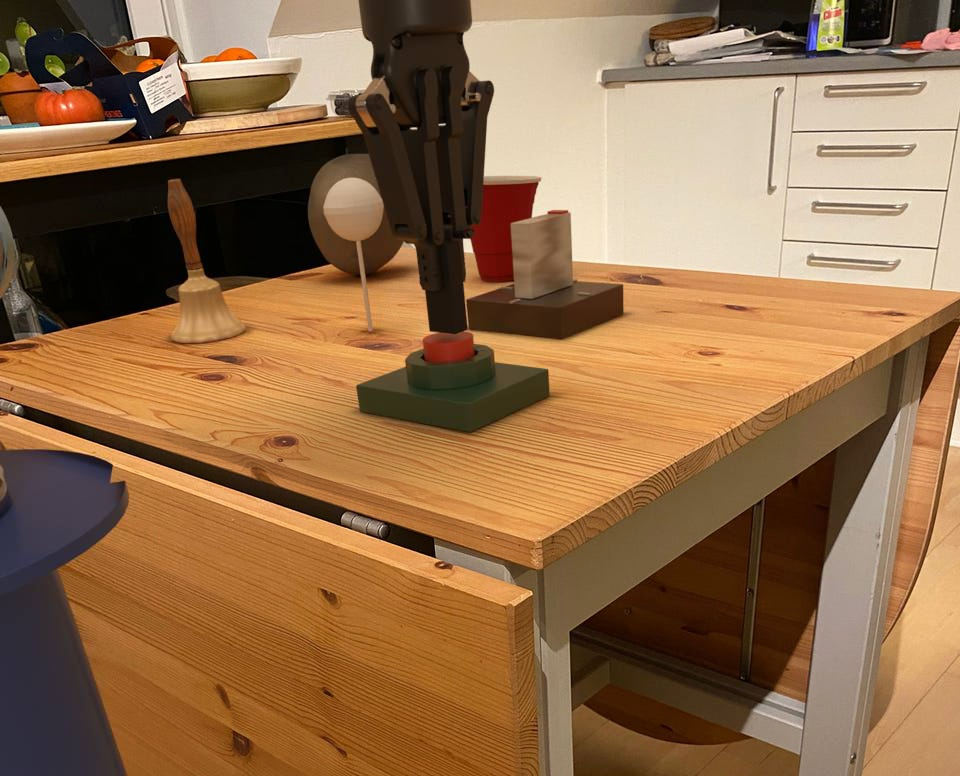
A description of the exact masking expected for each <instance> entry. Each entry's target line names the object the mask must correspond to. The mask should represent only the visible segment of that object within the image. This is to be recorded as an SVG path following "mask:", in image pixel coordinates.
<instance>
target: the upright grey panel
mask: <svg viewBox="0 0 960 776" xmlns="http://www.w3.org/2000/svg"><path fill="white" fill-rule="evenodd" d="M511 238H512V254H513V270H514V280H513V284H514V286H515V297H516V298H527V299H533V298H536V297H539V296H542V295H545V294H548V293H551V292H554V291H557V290H559V289H562V288H565V287H568V286H571V285H573V280H574V269H573V267H574V266H573V241H572V240H573V239H572V238H573V237H572V213H571V212H570V211H569V210H568V209H551V210H548V211H547V213H545V214H542V215H537V216H532V218H529V219H525V220H522V221H518V222H514V223H511Z"/></svg>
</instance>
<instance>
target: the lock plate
mask: <svg viewBox="0 0 960 776" xmlns="http://www.w3.org/2000/svg"><path fill="white" fill-rule="evenodd" d="M465 305H466V316H467V327H468V329H469V330H475V331H483V332H484V331H485V332H494V333H502V334H503V333H504V334H511V335H512V334H513V335H522V336H528V337H529V336H530V337H539V338H548V339H557V340H563V339H566V338H568V337H570V336H573V335H575V334H577V333H580V332H583V331H585V330H588V329H591V328H592V327H595V326H597V325H600V324H602V323H605V322H607V321H610V320H612V319H614V318H617V317H620V316H622V315H624V313H625V312H624V311H625V310H624V284H623V283H610V282H597V281H596V282H594V281H581V280H580V281H579V280H578V278H573V285H571V286H568V287H565V288H562V289H559V290H557V291H554V292H551V293H548V294H545V295H542V296H539V297H536V298H533V299H527V298H516V297H515V286H514V283H511V284H509V285H505V286H501V287H499V288H496V289H494V290H491V291H487V292H483V293H481V294H479V295H475V296H472V297H468V298H465Z"/></svg>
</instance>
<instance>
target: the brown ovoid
mask: <svg viewBox="0 0 960 776" xmlns="http://www.w3.org/2000/svg"><path fill="white" fill-rule="evenodd" d="M345 178H359V179H362V180H364V181H367V182H368V183H369V184H371V185H372V186H373V187H374V188H375V189H376V191H377V192H378V194H379V195H380V197H381V194H380V190H379V187H378V184H377V180H376V177H375V173H374V170H373V167H372V163H371V160H370V156H369V153H350V154H342V155H339V156H337V157H336V158H333V159H331V160H329V161H327V162H326V163H325V164H324V165H322V167H320V169H319V170H318V172H316V174H315V177H314V178H313V180H312V183H311V186H310V192H309V197H308V203H307V218H308V224H309V229H310V232H311V235H312V237H313V240H314V241H315V244H316V246H317V247H318V249H319V251H320V252H321V254H322V256H323V257H324V259H325V260H326V261H327V262H328V263H330V264H331V265H332V266H333V267H334V268H336V269H337V270H338V271H340V272H342V273H344V274H348V275H351V276H361V273H360V266H359V259H358V252H357V244H356V241H350V240H346V239H344V238H342V237H340V236H339V235H337V234H336V233H335V232H334V231H333V230H332V228H331V227H330V225H329V224H328V221H327V219H326V217H325V215H324V208H323V207H324V203H325V200H326V197H327V194H328V192H329V190H330V189H331V188H332V187H333V185H334V184H336V183H337V182H338V181H340V180H343V179H345ZM381 199H382V197H381ZM383 205H384V204H383ZM404 243H405V242H404V240H403V239H395V238H394V236H393V234H392V231H391V228H390V224H389V221H388V218H387V214H386V211H385V207H384V209H383V216H382V221H381V223H380V226H379V227H378V229H377V231H376V232H375V233H374V234H373V235H371V236H370V237H369V238H366V239H364V240H361V248H362V255H363V263H364V270H365V276H366V275H370V274H373V273H375V272H377V271H378V270H380V269H381V268H383V267H384V266H385V265H387V264H388V263H389V262H391V261H392V260H393V259H394V258H395V257H396V256H397V254H398V252H399V251H400V249H401V248H402V246H403V244H404Z"/></svg>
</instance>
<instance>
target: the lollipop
mask: <svg viewBox="0 0 960 776" xmlns="http://www.w3.org/2000/svg"><path fill="white" fill-rule="evenodd" d="M323 208H324V215H325V217H326V219H327V221H328V224H329V225H330V227H331V228H332V230H333V231H334V232H335V233H336V234H337V235H339V236H340V237H342V238H344V239H346V240H350V241H356V244H357V252H358V259H359V266H360V273H361V275H360V280H361V287H362V294H363V301H364V307H365V315H366V322H367V329H368V330H367V331H368V332H369V333H370V332H373V331H374V329H373V328H374V327H373V322H372V315H371V313H372V312H371V307H370V300H369V292H368V286H367V285H368V284H367V278H366V275H365V270H364V263H363V255H362V248H361V240H364V239H366V238H369V237H370V236H371V235H373V234H374V233H375V232H376V231H377V229H378V227H379V226H380V223H381V221H382V216H383V209H384V205H383V201H382V199H381V197H380V195H379V194H378V192H377V191H376V189H375V188H374V187H373V186H372V185H371V184H369V183H368V182H367V181H364V180H362V179H359V178H345V179H343V180H340V181H338V182H337V183H336V184H334V185H333V187H332V188H331V189H330V190H329V192H328V194H327V197H326V200H325V203H324V207H323Z"/></svg>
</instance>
